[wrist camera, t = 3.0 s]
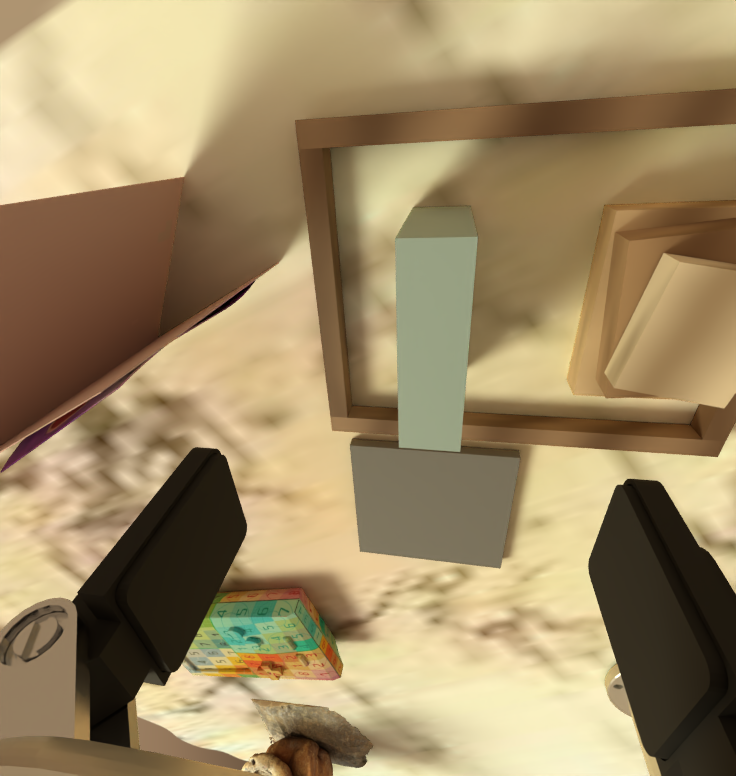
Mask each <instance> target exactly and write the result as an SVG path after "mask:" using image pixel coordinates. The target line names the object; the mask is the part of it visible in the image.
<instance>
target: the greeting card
mask: <svg viewBox="0 0 736 776" xmlns="http://www.w3.org/2000/svg"><path fill="white" fill-rule="evenodd" d="M183 182H184V177H180V178H173V179H167V180H160V181H154V182H148V183H141V184H135V185H128V186H122V187H115V188H109V189H102V190H96V191H89V192H83V193H76V194H70V195H64V196H57V197H51V198H44V199H38V200H31V201H25V202H18V203H12V204H5V205H0V453H1V452H2V451H4V450H6V449H7V448H9V447H11V446H13V445H14V444H16V443H18V442H19V441H21V440H23V441H22V442H21V443H20V444H19V446H18V447H17V448H16V450H15V451H14V452H13V454H12V455H11V456H10V458H9V459H8V461H7V462H6V464H5V466H4V467H3V469H2V470H1V473H2V472H3V471H4V470H6V469H7V468H9V467H10V466H11V465H13V464H14V463H16V462H17V461H18V460H20V459H21V458H23V457H24V456H25V455H27V454H28V453H29V452H31V451H32V450H34V449H35V448H36V447H38V446H39V445H41V444H42V443H43V442H45V441H46V440H48V439H49V438H50V437H52V436H53V435H55V434H56V433H57V432H59V431H60V430H61V429H63V428H64V427H66V426H67V425H68V424H70V423H71V422H73V421H74V420H75V419H77V418H78V417H80V416H81V415H82V414H84V413H85V412H87V411H88V410H89V409H91V408H92V407H94V406H95V405H96V404H98V403H99V402H100V401H102V400H103V399H105V398H106V397H107V396H109V395H110V394H112V393H113V392H114V391H116V390H117V389H119V388H120V387H121V386H122V385H123V384H124V383H125V382H126V381H127V380H128V379H129V378H130V377H131V376H132V375H133V374H134V373H135V372H136V371H137V370H138V369H139V368H140V367H141V366H143V365H144V364H145V363H146V362H147V361H148V360H149V359H151V358H152V357H153V356H154V355H155V354H156V353H158V352H159V351H160V350H161V349H162V348H164V347H165V346H166V345H168V344H169V343H170V342H172V341H173V340H175V339H177V338H178V337H180V336H182V335H183V334H185V333H187V332H188V331H190V330H192V329H193V328H195V327H197V326H198V325H200V324H202V323H203V322H205V321H207V320H208V319H210V318H212V317H213V316H215V315H217V314H218V313H220V312H222V311H223V310H225V309H227V308H228V307H230V306H231V305H232V304H234V303H235V302H236V301H237V300H239V299H240V298H241V297H242V296H243V295H244V294H245V293H246V292H247V291H248V289H249V288H250V287H251V286H252V284H253V283H254V282H255V280H256V279H258V278H259V277H260V276H262V275H263V274H264V273H266V272H267V271H269V270H270V269H271V268H273V267H274V266H275V265H277V264H278V263H279V262H278V263H277V264H275V265H273V266H272V267H270V268H269V269H267V270H266V271H264V272H262V273H261V274H259V275H258V276H256V277H254V278H253V279H251V280H250V281H248V282H246V283H245V284H243V285H242V286H240V287H238V288H237V289H235V290H234V291H232V292H230V293H229V294H227V295H226V296H224V297H222V298H221V299H219V300H218V301H216V302H214V303H213V304H211V305H210V306H208V307H206V308H205V309H203V310H202V311H200V312H198V313H197V314H195V315H194V316H192V317H190V318H189V319H187V320H186V321H184V322H182V323H181V324H179V325H178V326H176V327H174V328H173V329H171V330H170V331H168V332H166V333H165V334H163V335H162V336H160V337H158V335H159V328H160V322H161V316H162V310H163V304H164V298H165V292H166V286H167V279H168V273H169V267H170V261H171V255H172V249H173V243H174V237H175V231H176V224H177V218H178V212H179V206H180V200H181V194H182V188H183Z"/></svg>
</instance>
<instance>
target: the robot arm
mask: <svg viewBox="0 0 736 776" xmlns="http://www.w3.org/2000/svg"><path fill="white" fill-rule="evenodd" d="M246 532H247V523H246V520H245V517H244V513H243V510H242V507H241V504H240V501H239V497H238V494H237V491H236V488H235V485H234V481H233V478H232V475H231V472H230V469H229V465H228V462H227V459H226V457H225V456H224V455H221V453H220V451H219V450H218V449H212V448H198V447H196V448H193V449H192V450H191V451H190V452H189V453H188V455H187V456H186V457H185V458H184V460H183V461H182V462H181V463H180V465H179V466H178V467H177V468H176V470H175V471H174V472H173V473H172V475H171V476H170V477H169V478H168V480H167V481H166V482H165V483H164V485H163V486H162V487H161V488H160V490H159V491H158V492H157V493H156V495H155V496H154V497H153V498H152V500H151V501H150V502H149V503H148V505H147V506H146V507H145V508H144V510H143V511H142V512H141V513H140V515H139V516H138V517H137V518H136V520H135V521H134V522H133V523H132V525H131V526H130V527H129V528H128V530H127V531H126V532H125V533H124V535H123V536H122V537H121V538H120V540H119V541H118V542H117V543H116V545H115V546H114V547H113V548H112V550H111V551H110V552H109V553H108V555H107V556H106V557H105V558H104V560H103V561H102V562H101V563H100V565H99V566H98V567H97V568H96V570H95V571H94V572H93V573H92V575H91V576H90V577H89V578H88V580H87V581H86V582H85V583H84V585H83V586H82V587H81V588H80V590H79V591H78V592H77V593H78V595H77V596H76V597H75V599H74V600H73V601H72V602H71V601H70V600H68V599H64V598H53V599H48V600H45V601H42V602H39V603H37V604H35V605H33V606H31V607H29V608H27V609H25V610H24V611H22V612H21V613H20V614H19V615H17V616H16V617H15V618H13V619H12V620H11V621H10V622H9V623H8V624H7V625H6V626H5V627H4V628H3V629H2V630H1V631H0V776H265V775H260V774H256V773H251V772H246V771H241V770H236V769H232V768H227V767H222V766H217V765H212V764H208V763H203V762H198V761H193V760H188V759H184V758H179V757H174V756H169V755H164V754H159V753H154V752H149V751H143V750H140V745H139V733H138V722H137V710H136V699H135V696H136V695H137V693H138V691H139V689H140V687H141V685H142V684H143V682H145V683H150V684H156V685H161V686H165V684H166V682H167V680H168V678H169V676H170V674H171V672H175V671H177V670H178V669H179V667H180V666H181V664H182V663H183V661H184V659H185V657H186V655H187V653H188V651H189V649H190V647H191V645H192V642H193V640H194V638H195V636H196V634H197V632H198V630H199V628H200V626H201V624H202V622H203V620H204V618H205V616H206V614H207V612H208V610H209V608H210V606H211V604H212V602H213V600H214V598H215V596H216V594H217V592H218V590H219V588H220V586H221V584H222V582H223V580H224V578H225V576H226V574H227V572H228V570H229V568H230V566H231V564H232V562H233V560H234V558H235V556H236V554H237V552H238V550H239V548H240V546H241V544H242V542H243V540H244V538H245V536H246ZM588 567H589V575H590V579H591V582H592V585H593V588H594V591H595V595H596V598H597V601H598V604H599V607H600V611H601V614H602V617H603V620H604V623H605V627H606V630H607V633H608V636H609V639H610V643H611V646H612V649H613V652H614V655H615V659H616V662H617V664H616V665H615V666H614V667H612V668H611V669H610V670H609V672H608V674H607V675H606V677H605V686H606V691H607V695H608V697H609V699H610V701H611V702H612V703H613V705H614V706H615V707H616V708H618V709H619V710H620V711H622V712H623V713H625V714H627V715H629V716H631V717H632V719H633V723H634V726H635V729H636V732H637V736H638V739H639V742H640V745H641V749H642V752H643V755H644V759H645V762H646V765H647V768H648V772H649V775H650V776H736V594H735V592H734V591H733V589H732V588H731V586H730V584H729V583H728V581H727V579H726V578H725V576H724V574H723V573H722V571H721V570H720V568H719V566H718V565H717V563H716V561H715V560H714V559H713V557H712V556H711V555H710V553H709V552H708V551H706V550H705V549H703V548H701V547H699V545H698V544H697V542H696V540H695V539H694V537H693V535H692V533H691V532H690V530H689V528H688V527H687V525H686V523H685V522H684V520H683V518H682V517H681V515H680V513H679V512H678V510H677V508H676V507H675V505H674V503H673V502H672V500H671V498H670V497H669V495H668V493H667V491H666V490H665V488H664V486H663V485H662V484H661V483H660V482H658V481H652V480H639V479H627V480H626V481H625V483H624V484H623V485H617V486H616V488H615V490H614V493H613V495H612V498H611V501H610V504H609V506H608V509H607V512H606V515H605V517H604V520H603V523H602V526H601V528H600V531H599V534H598V536H597V539H596V542H595V545H594V547H593V550H592V553H591V556H590V558H589V564H588Z"/></svg>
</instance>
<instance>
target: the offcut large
mask: <svg viewBox="0 0 736 776" xmlns="http://www.w3.org/2000/svg"><path fill="white" fill-rule="evenodd" d="M728 218H736V200H726V201H699V202H672V203H644V204H617V205H604V210H603V214H602V219H601V224H600V228H599V233H598V237H597V242H596V247H595V251H594V256H593V260H592V265H591V269H590V274H589V279H588V283H587V288H586V292H585V297H584V302H583V306H582V311H581V315H580V320H579V325H578V329H577V334H576V338H575V343H574V348H573V352H572V357H571V361H570V366H569V371H568V375H567V382H568V384H569V386H570V388H571V390H572V393H573V395H586V396H605V395H604V394H603V392H602V390H601V388H600V387H599V385H598V383H597V381H596V371H597V363H598V356H599V348H600V340H601V333H602V325H603V318H604V310H605V303H606V295H607V287H608V280H609V272H610V265H611V257H612V249H613V242H614V234H615V232H619V231H628V230H636V229H645V228H653V227H661V226H670V225H678V224H686V223H695V222H703V221H712V220H720V219H728ZM631 398H654V399H671V398H665V397H660V396H658V397H631Z"/></svg>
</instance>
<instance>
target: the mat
mask: <svg viewBox="0 0 736 776" xmlns="http://www.w3.org/2000/svg"><path fill="white" fill-rule="evenodd" d="M350 450H351V461H352V472H353V482H354V493H355V503H356V514H357V525H358V535H359V546H360V551H361V552H369V553H377V554H386V555H394V556H402V557H410V558H419V559H427V560H435V561H444V562H452V563H460V564H468V565H477V566H485V567H493V568H501V563H502V557H503V552H504V546H505V541H506V535H507V530H508V524H509V519H510V513H511V508H512V502H513V496H514V491H515V485H516V480H517V474H518V469H519V463H520V453H519V451H517V450H503V449H489V448H475V447H461V449H460V452H454V451H440V450H427V449H413V448H399V442H391V441H377V440H363V439H352V441H351V444H350Z"/></svg>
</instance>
